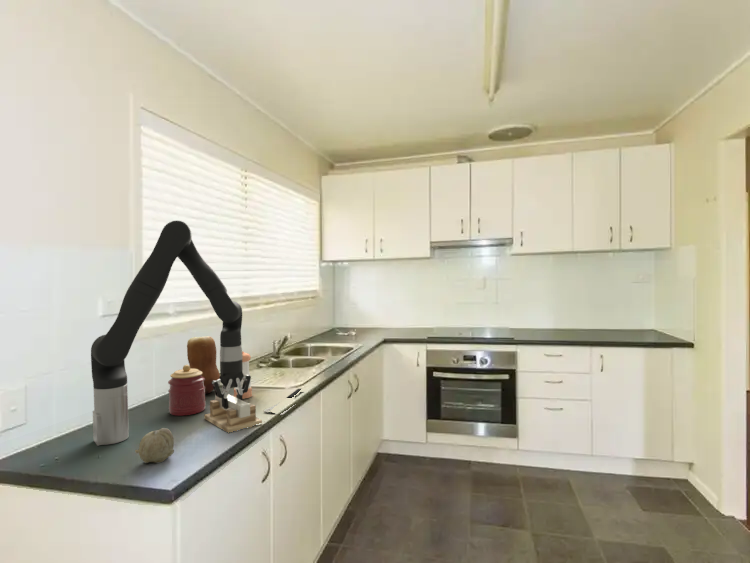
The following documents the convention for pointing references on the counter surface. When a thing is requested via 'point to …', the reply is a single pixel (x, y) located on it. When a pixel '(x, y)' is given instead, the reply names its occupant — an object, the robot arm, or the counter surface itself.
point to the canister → (186, 392)
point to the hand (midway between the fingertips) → (232, 406)
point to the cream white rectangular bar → (236, 406)
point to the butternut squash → (203, 359)
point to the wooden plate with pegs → (230, 417)
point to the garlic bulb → (156, 446)
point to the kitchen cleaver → (278, 403)
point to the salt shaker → (245, 371)
